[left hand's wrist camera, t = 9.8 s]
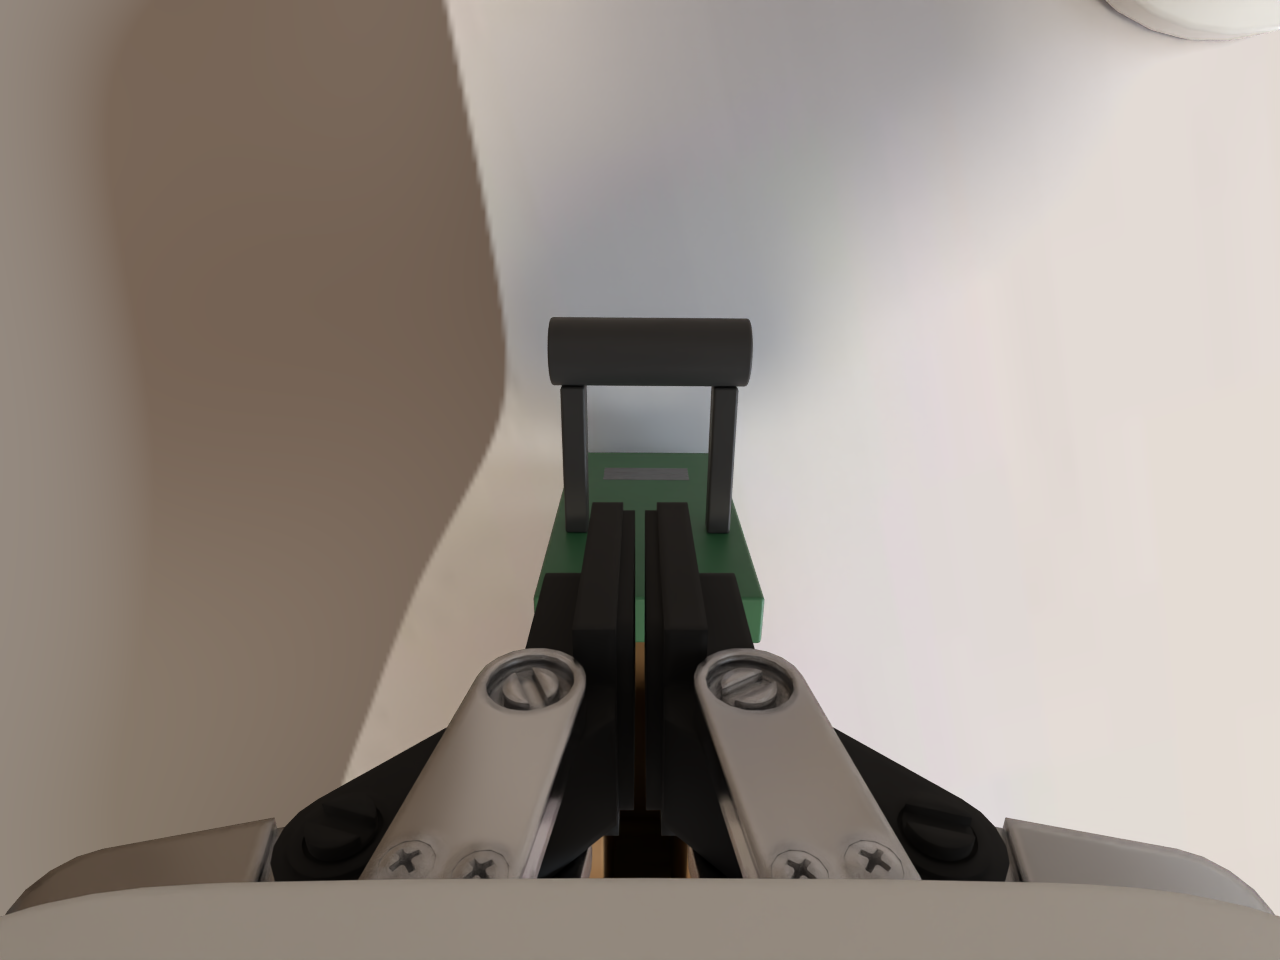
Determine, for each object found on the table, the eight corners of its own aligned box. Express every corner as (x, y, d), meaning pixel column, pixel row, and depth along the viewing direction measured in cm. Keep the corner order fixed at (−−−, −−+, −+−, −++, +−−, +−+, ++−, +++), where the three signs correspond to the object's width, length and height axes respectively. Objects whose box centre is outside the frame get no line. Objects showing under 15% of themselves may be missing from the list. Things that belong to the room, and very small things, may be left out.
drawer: (567, 288, 22) (518, 344, 13) (726, 290, 22) (786, 346, 13) (583, 810, 30) (560, 1066, 21) (699, 811, 30) (725, 1066, 21)
